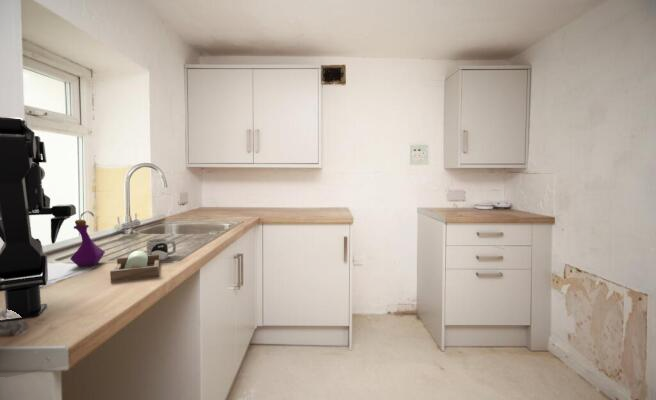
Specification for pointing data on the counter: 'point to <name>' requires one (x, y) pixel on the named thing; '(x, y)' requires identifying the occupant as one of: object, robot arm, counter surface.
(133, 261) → the roll
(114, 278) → the holder
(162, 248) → the mug
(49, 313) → the counter surface
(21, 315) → the robot arm
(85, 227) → the perfume bottle
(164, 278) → the counter surface
